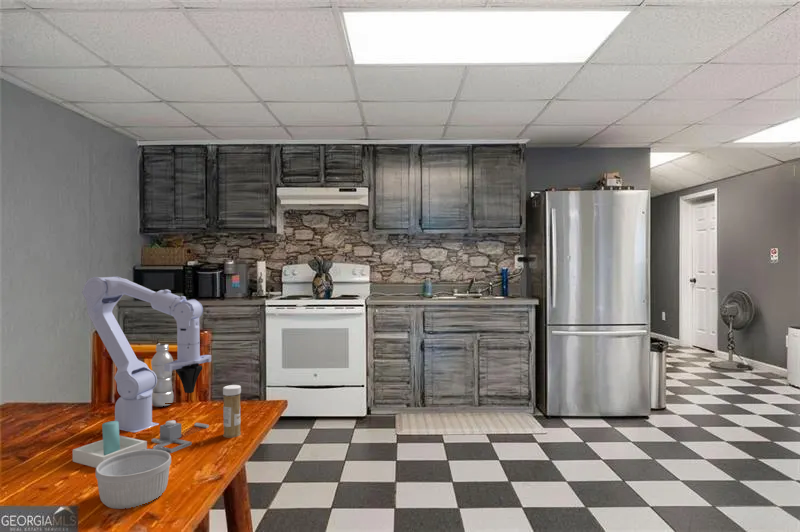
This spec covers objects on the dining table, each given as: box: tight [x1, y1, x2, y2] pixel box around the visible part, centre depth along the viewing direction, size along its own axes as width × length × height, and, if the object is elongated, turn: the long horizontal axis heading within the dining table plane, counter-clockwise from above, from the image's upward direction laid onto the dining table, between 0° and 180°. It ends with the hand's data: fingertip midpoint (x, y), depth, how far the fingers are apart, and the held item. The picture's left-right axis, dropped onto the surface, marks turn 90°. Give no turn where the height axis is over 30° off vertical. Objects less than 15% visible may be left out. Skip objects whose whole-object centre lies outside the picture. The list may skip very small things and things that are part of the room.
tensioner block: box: [142, 438, 193, 454], centre depth 120 cm, size 6×14×2 cm, turn 155°
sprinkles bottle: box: [222, 384, 242, 439], centre depth 132 cm, size 5×5×14 cm
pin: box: [101, 420, 120, 455], centre depth 118 cm, size 3×3×8 cm
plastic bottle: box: [150, 343, 175, 408], centre depth 160 cm, size 6×7×20 cm
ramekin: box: [94, 448, 172, 510], centre depth 98 cm, size 13×13×7 cm
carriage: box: [159, 419, 182, 441], centre depth 129 cm, size 4×4×4 cm
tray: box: [72, 434, 148, 469], centre depth 118 cm, size 11×11×3 cm
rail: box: [151, 422, 210, 444], centre depth 132 cm, size 5×15×1 cm, turn 155°
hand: (189, 392), depth 137 cm, fingers closed
